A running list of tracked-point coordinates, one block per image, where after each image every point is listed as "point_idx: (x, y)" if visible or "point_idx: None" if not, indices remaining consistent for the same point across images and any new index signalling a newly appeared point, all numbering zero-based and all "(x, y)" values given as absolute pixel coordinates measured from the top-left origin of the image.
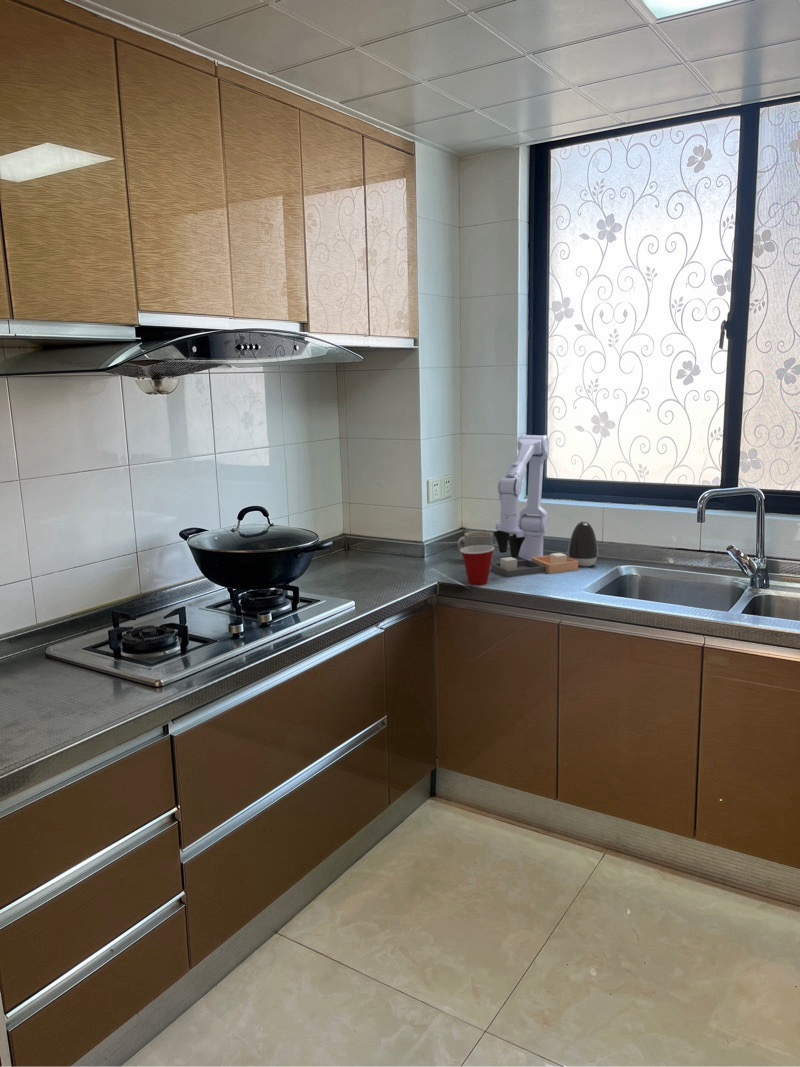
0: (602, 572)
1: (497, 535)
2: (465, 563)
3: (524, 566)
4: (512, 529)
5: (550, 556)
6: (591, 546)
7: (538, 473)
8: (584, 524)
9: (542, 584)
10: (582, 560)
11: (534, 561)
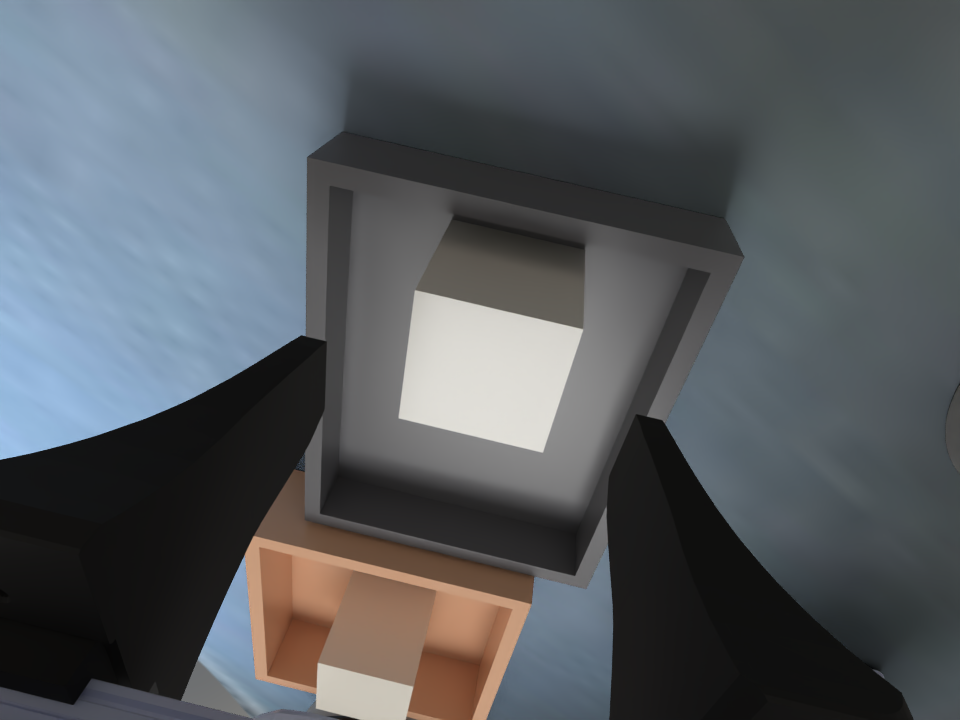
0: (219, 655)
1: (713, 647)
2: None
3: (565, 506)
4: None
5: (412, 665)
6: None
7: None
8: None
9: (52, 255)
10: (315, 710)
11: (483, 570)
